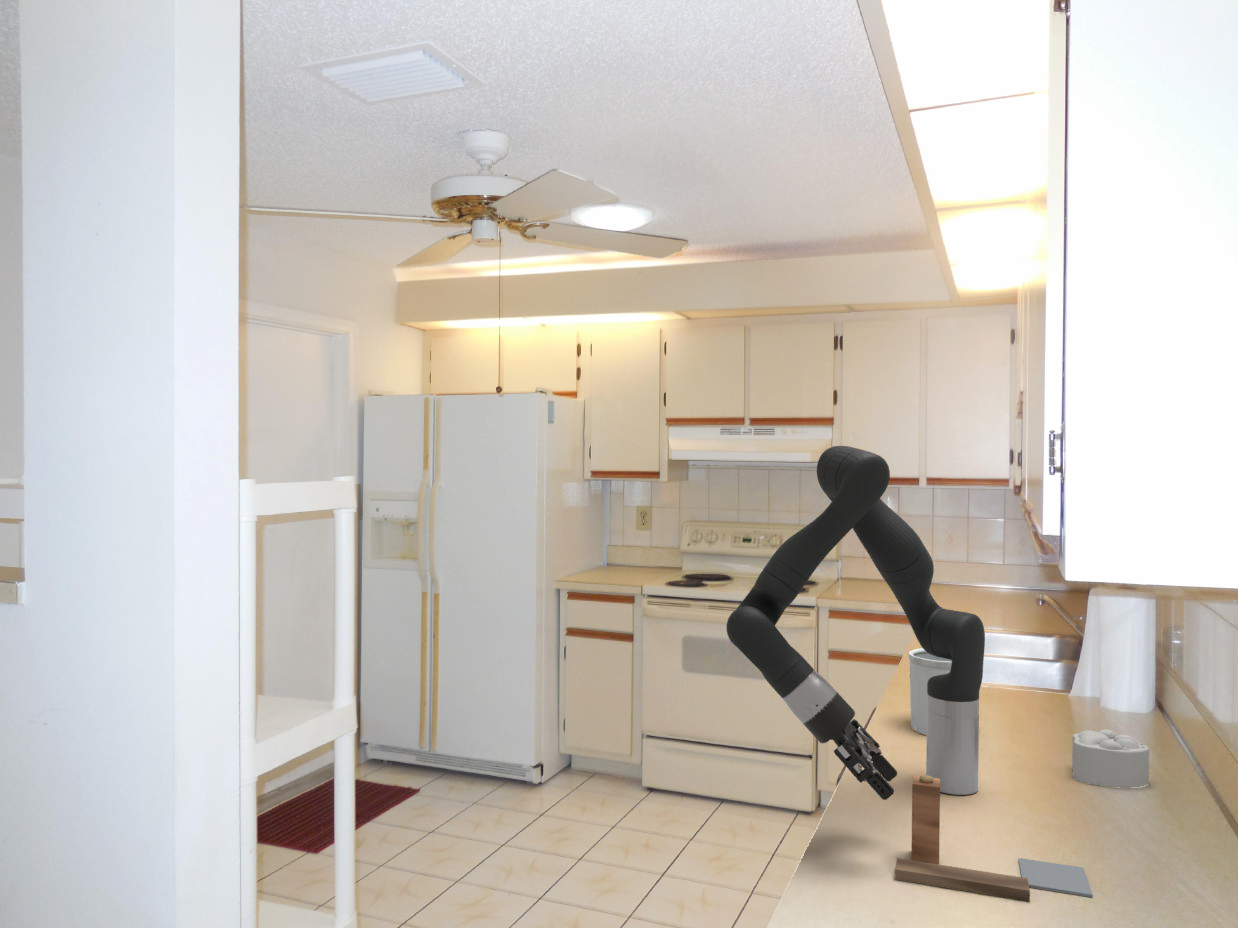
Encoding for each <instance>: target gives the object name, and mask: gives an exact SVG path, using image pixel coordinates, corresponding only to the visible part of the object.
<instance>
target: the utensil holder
mask: <svg viewBox="0 0 1238 928" xmlns="http://www.w3.org/2000/svg"><path fill="white" fill-rule="evenodd" d="M908 660H909V685H910V686H909V689H910V693H909V694H910V723H911V725H910V726H911V729H912V728H913V729H914V730H915V731H914V730H913V729H912V730H913V731H914V732H916V731H917V732H918V734H920V733H922V734H924V735H923V736H926V735H927V683H928V680H929V679H930V678H931V677H933V676H937V675H943V674H948V673H949V672H950V670H951V663H952V660H950V659H945V658H941V657H936V656H933V655H931V654H929V653H927V652H926V651H925V650H924V649H923V648H922V647H921V648H914V649H912V650H910V651H909V652H908ZM917 732H916V733H917ZM922 734H921V735H922Z"/></svg>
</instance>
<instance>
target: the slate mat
mask: <svg viewBox="0 0 1238 928" xmlns="http://www.w3.org/2000/svg"><path fill="white" fill-rule="evenodd" d="M1017 861H1018V866H1019V872H1020V877H1023V878H1027V879H1028V884H1029V889H1030V888H1031V889H1037V890H1044V891H1048V892H1056V893H1061V894H1062V893H1063V894H1068V895H1076V896H1081V897H1086V898H1087V897H1089V898H1094V897H1093V896H1094V895H1093V892H1092V891H1093V890H1092V889H1091V885H1090V882H1089V880H1088V879H1089V878H1088V876H1087V874H1086V870H1085V868H1084V867H1082V866H1077V865H1071V864H1070V865H1068V864H1063V863H1056V862H1047V861H1042V860H1037V859H1036V860H1035V859H1030V858H1023V857H1018V859H1017Z"/></svg>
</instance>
